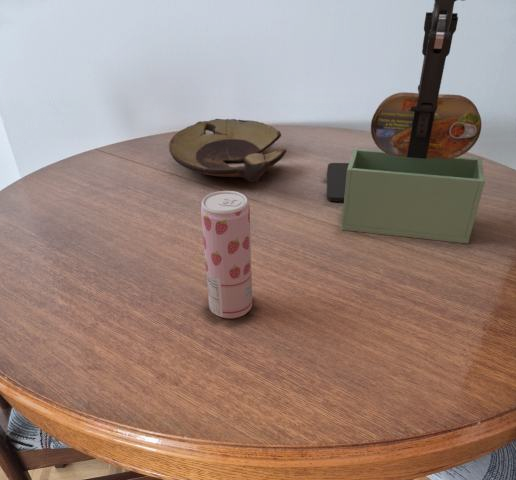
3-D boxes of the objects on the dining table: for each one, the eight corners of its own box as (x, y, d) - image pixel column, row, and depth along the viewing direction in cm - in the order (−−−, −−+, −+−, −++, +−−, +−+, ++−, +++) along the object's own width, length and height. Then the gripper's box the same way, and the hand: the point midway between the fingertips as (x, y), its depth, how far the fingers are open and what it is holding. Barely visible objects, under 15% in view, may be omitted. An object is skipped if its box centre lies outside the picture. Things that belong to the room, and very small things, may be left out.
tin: (367, 153, 81) (374, 94, 75) (369, 144, 83) (376, 86, 77) (473, 162, 78) (488, 102, 72) (472, 153, 80) (487, 93, 74)
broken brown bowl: (280, 141, 116) (281, 103, 111) (293, 204, 94) (294, 161, 89) (176, 144, 116) (172, 106, 111) (163, 208, 93) (157, 165, 88)
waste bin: (466, 218, 89) (481, 158, 82) (468, 243, 83) (485, 181, 76) (348, 206, 93) (353, 148, 86) (341, 230, 87) (347, 169, 80)
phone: (326, 197, 94) (327, 162, 105) (326, 201, 94) (327, 166, 105) (370, 198, 93) (366, 163, 104) (369, 203, 93) (365, 167, 105)
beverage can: (256, 316, 70) (254, 208, 60) (212, 322, 69) (203, 214, 59) (247, 291, 74) (244, 187, 64) (206, 297, 73) (196, 192, 63)
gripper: (421, -49, 71) (394, 132, 87) (417, -35, 60) (387, 171, 75) (481, -48, 70) (443, 136, 85) (489, -34, 58) (443, 176, 74)
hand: (417, 152), depth 80 cm, fingers closed on tin, 3 cm apart
